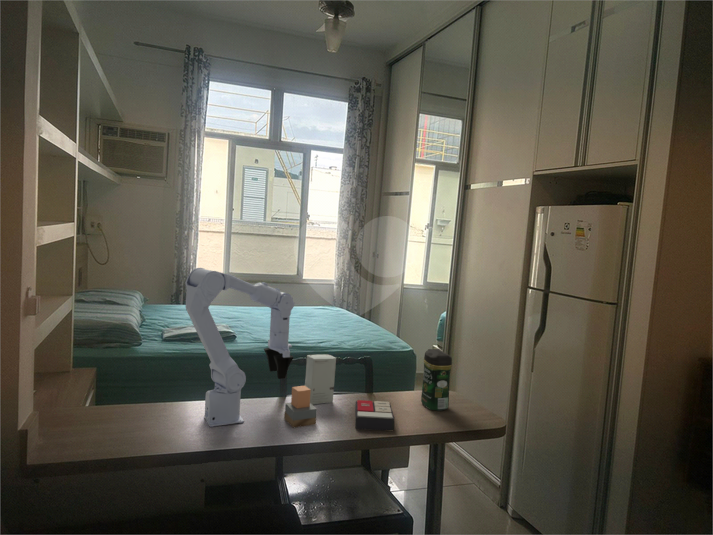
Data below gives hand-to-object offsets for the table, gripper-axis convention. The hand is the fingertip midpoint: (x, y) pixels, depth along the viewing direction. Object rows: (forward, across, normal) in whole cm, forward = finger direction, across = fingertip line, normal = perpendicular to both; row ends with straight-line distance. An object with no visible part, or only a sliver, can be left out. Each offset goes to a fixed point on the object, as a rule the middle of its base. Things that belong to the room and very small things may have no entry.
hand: (277, 374), depth 145 cm
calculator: (+11, -18, -24) cm, 32 cm away
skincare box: (+11, +1, -15) cm, 18 cm away
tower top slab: (+8, -12, -3) cm, 15 cm away
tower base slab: (+11, -12, -3) cm, 17 cm away
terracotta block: (+6, -12, -3) cm, 14 cm away
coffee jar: (+11, -16, -49) cm, 53 cm away
